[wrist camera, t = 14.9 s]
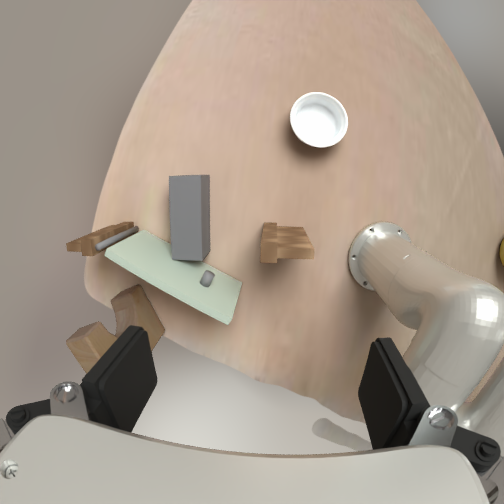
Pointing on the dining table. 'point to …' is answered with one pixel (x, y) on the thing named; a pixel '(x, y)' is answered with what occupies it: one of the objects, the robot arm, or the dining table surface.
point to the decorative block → (127, 313)
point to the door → (174, 273)
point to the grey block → (189, 216)
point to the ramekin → (318, 119)
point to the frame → (272, 243)
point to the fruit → (502, 252)
